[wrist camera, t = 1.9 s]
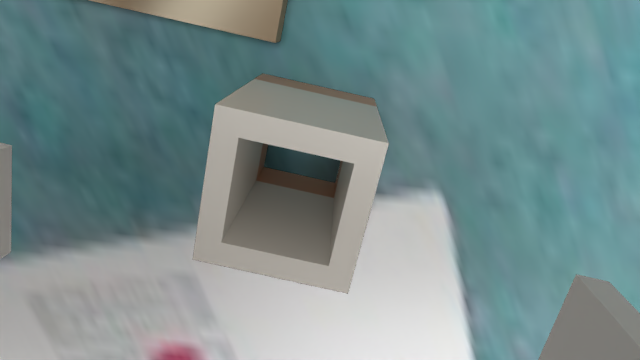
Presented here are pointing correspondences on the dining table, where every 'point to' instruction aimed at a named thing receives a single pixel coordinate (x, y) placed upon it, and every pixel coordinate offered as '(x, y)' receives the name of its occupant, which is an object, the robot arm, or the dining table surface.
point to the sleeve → (289, 182)
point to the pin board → (218, 14)
